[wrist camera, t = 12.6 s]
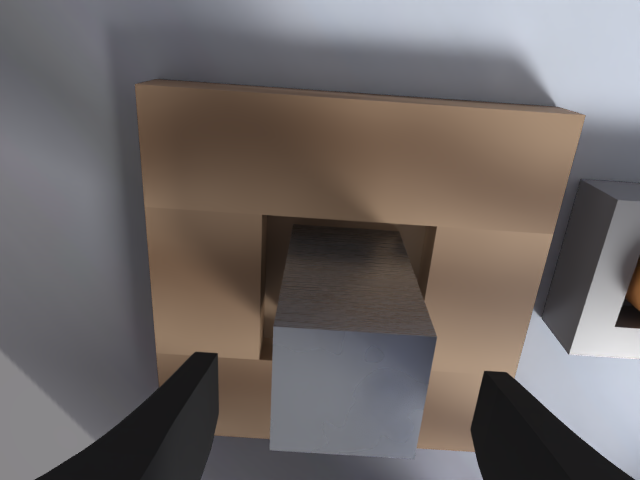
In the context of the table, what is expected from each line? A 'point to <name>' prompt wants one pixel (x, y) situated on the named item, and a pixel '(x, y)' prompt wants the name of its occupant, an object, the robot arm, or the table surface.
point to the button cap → (634, 288)
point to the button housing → (598, 273)
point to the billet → (349, 346)
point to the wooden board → (346, 224)
